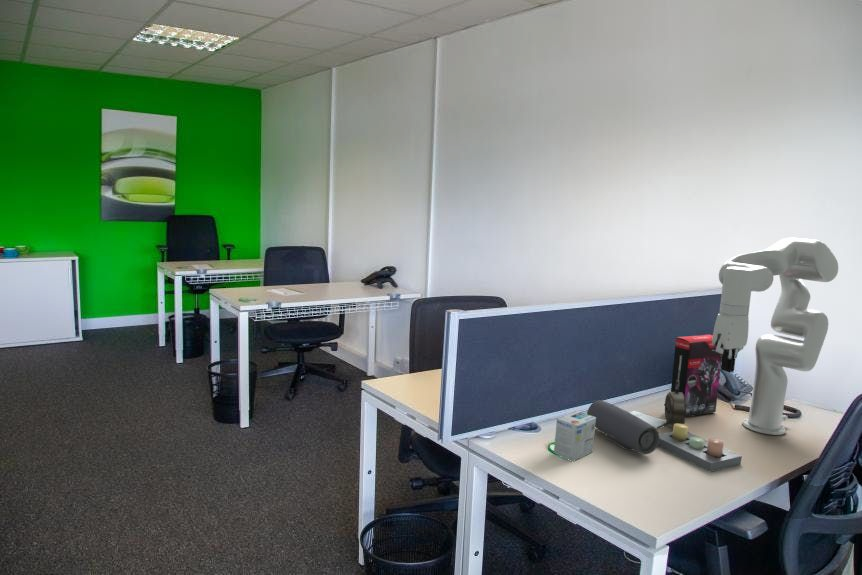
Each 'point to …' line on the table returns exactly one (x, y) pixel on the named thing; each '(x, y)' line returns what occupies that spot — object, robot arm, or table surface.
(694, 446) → the green button
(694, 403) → the graphics card box
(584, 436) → the light bulb box
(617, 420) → the bluetooth speaker
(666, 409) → the alarm clock
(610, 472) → the table surface
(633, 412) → the external hard drive
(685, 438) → the ochre button
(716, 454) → the terracotta button
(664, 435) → the button board
